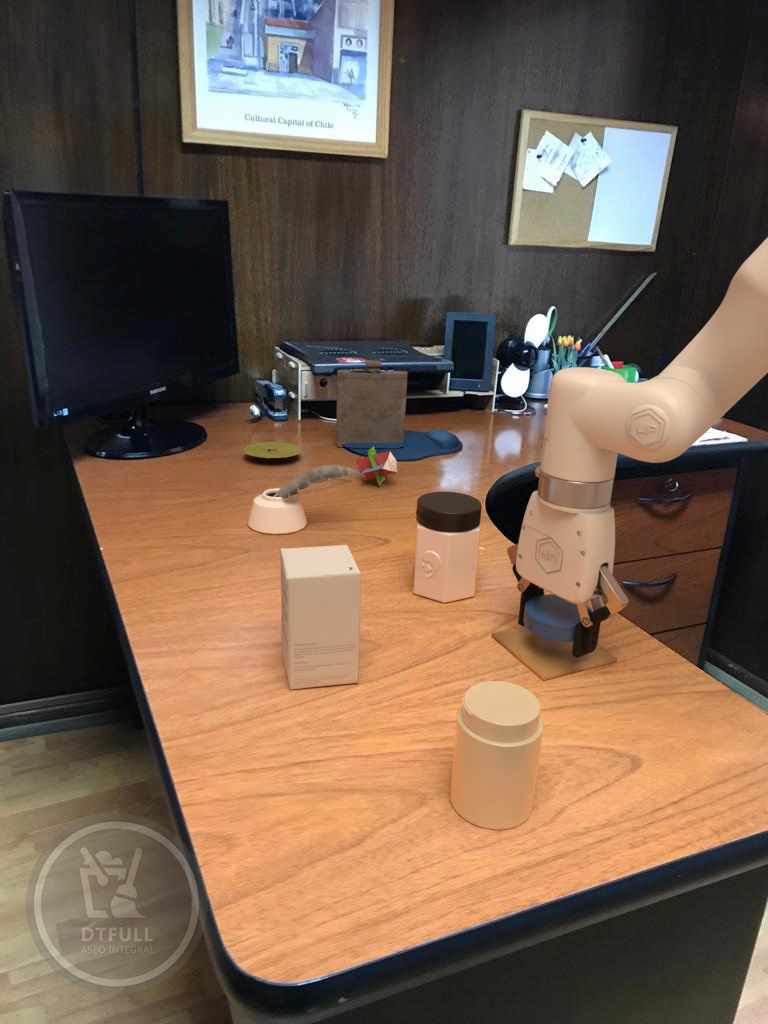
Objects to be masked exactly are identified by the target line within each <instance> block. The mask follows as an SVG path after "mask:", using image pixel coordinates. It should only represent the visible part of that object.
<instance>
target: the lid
mask: <svg viewBox="0 0 768 1024" xmlns="http://www.w3.org/2000/svg"><path fill="white" fill-rule="evenodd" d="M590 611H591V612H593V608H591V607H590ZM579 622H581V619H580V615H579V612H578V608H577V605H576V604H574V603H571V602H568V601H566V600H564V599H562V598H560V597H558V596H556V595H554V594H552V593H551V594H544V595H540V596H536V597H533V598H531V599H529V600H528V601H527V602H526V604H525V611H524V625H525V627H526V628H527V629H528V630H529V631H530V632H532V633H533V634H535V635H537V636H539V637H542V638H545V639H548V640H552V641H560V642H572V641H574V634H575V627H576V624H577V623H579Z"/></svg>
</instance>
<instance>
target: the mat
mask: <svg viewBox="0 0 768 1024" xmlns="http://www.w3.org/2000/svg"><path fill="white" fill-rule="evenodd" d="M242 451H243V452H244V454H246V455H248V456H251V457H256V458H257V457H258V458H263V459H271V458H274V459H275V458H276V459H277V458H278V459H281V458H289V457H290V458H291V457H293V456H296V455H299V454H301V453H302V448H301V447H300V446H298V445H296V444H294V443H290V442H283V441H263V442H254V443H251V444H248V445H246V446H245V447H243V449H242Z"/></svg>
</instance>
